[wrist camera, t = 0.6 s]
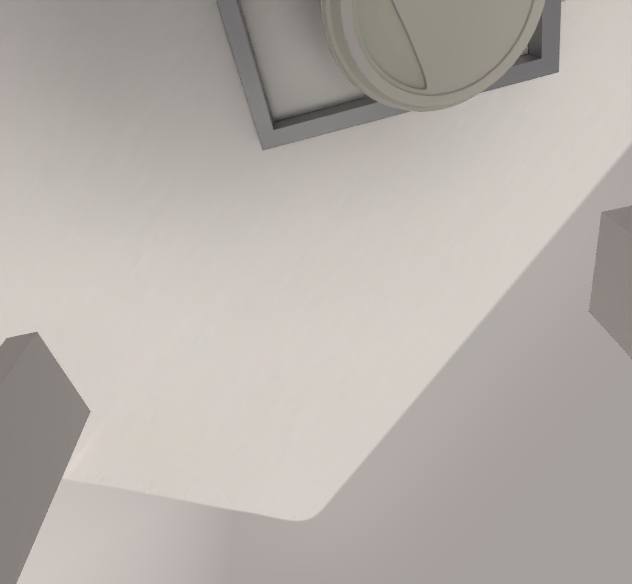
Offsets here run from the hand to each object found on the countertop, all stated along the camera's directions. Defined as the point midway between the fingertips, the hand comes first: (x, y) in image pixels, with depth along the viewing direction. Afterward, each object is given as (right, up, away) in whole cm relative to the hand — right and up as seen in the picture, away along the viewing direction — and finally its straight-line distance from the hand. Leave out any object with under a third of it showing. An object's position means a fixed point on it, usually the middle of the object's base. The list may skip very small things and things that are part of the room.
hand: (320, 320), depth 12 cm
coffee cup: (+4, +18, +16) cm, 24 cm away
